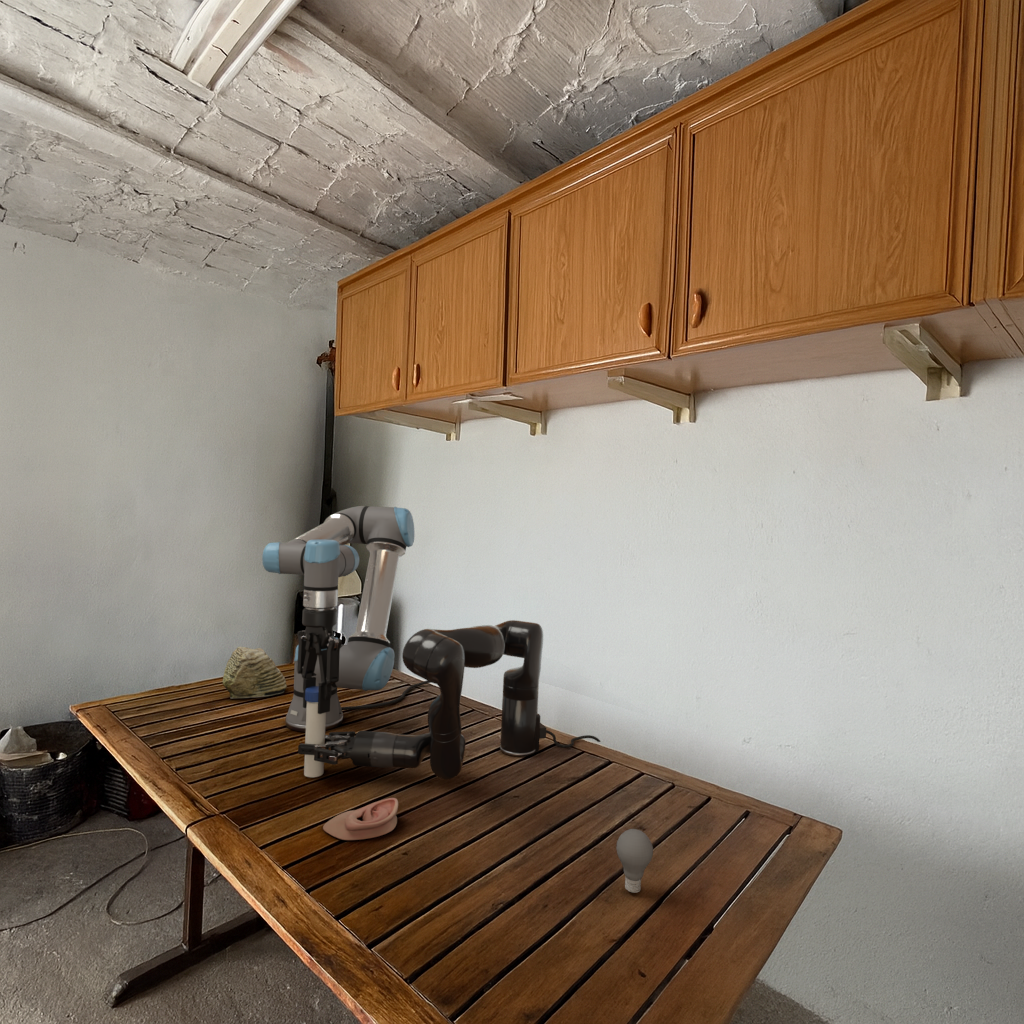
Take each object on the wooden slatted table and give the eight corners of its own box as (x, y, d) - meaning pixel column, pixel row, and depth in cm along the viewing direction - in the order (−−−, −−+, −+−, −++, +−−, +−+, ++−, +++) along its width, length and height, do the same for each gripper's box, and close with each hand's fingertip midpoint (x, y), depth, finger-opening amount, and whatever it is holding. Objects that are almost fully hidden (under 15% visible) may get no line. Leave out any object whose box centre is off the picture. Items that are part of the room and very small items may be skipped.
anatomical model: (315, 814, 118) (343, 787, 129) (314, 835, 118) (343, 807, 129) (382, 825, 115) (405, 796, 127) (381, 846, 116) (404, 816, 127)
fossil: (218, 695, 195) (220, 647, 195) (278, 685, 208) (279, 640, 207) (228, 703, 189) (230, 653, 188) (289, 692, 201) (290, 645, 201)
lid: (326, 694, 148) (326, 684, 148) (330, 701, 143) (330, 691, 143) (303, 696, 146) (303, 686, 146) (306, 703, 141) (306, 693, 141)
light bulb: (610, 879, 108) (613, 822, 108) (644, 879, 109) (647, 822, 109) (619, 902, 102) (622, 840, 102) (655, 901, 103) (658, 840, 103)
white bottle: (327, 772, 146) (330, 690, 145) (314, 779, 142) (317, 695, 142) (313, 767, 148) (316, 687, 147) (299, 774, 144) (303, 692, 143)
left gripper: (283, 604, 147) (279, 703, 147) (330, 615, 136) (326, 723, 136) (311, 600, 153) (307, 696, 153) (358, 611, 141) (354, 714, 142)
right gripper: (385, 722, 151) (314, 717, 152) (368, 745, 137) (290, 739, 138) (384, 753, 151) (313, 748, 152) (367, 779, 137) (289, 774, 138)
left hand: (316, 709), depth 144 cm, fingers closed on lid, 5 cm apart
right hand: (303, 744), depth 145 cm, fingers closed on white bottle, 4 cm apart
